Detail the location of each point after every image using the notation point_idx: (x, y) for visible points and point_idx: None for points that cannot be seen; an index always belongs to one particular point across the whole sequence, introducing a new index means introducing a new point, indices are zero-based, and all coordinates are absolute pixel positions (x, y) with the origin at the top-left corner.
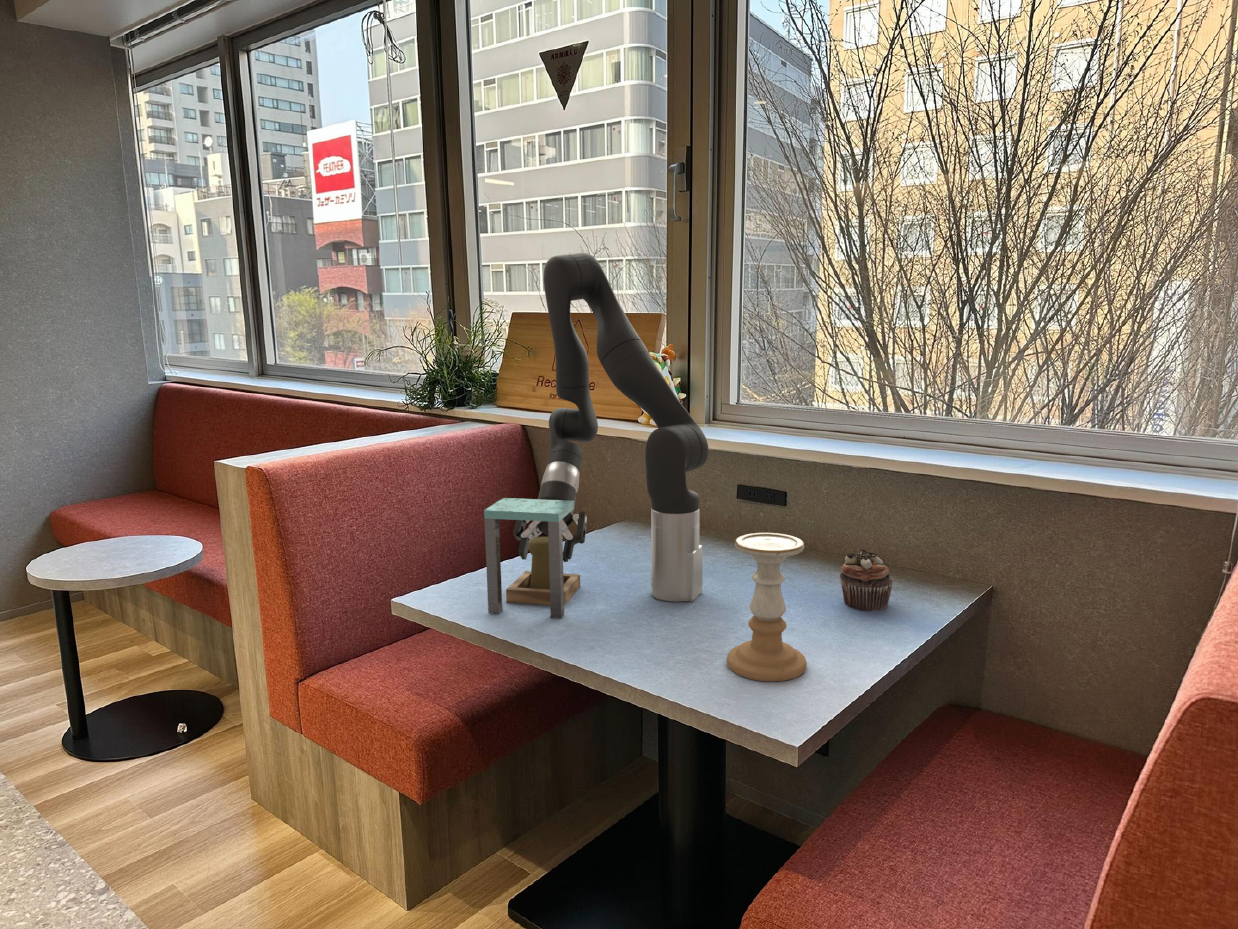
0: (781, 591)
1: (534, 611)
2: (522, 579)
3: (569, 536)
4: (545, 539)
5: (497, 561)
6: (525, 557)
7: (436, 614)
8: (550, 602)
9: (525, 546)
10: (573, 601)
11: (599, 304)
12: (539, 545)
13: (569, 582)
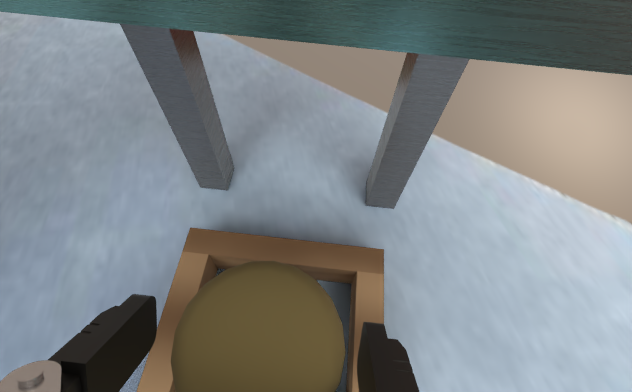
0: None
1: (280, 203)
2: None
3: (29, 376)
4: (225, 307)
5: (401, 79)
6: (359, 358)
7: (510, 172)
8: (226, 143)
9: (370, 360)
10: None
11: None
12: (264, 262)
13: (167, 342)
